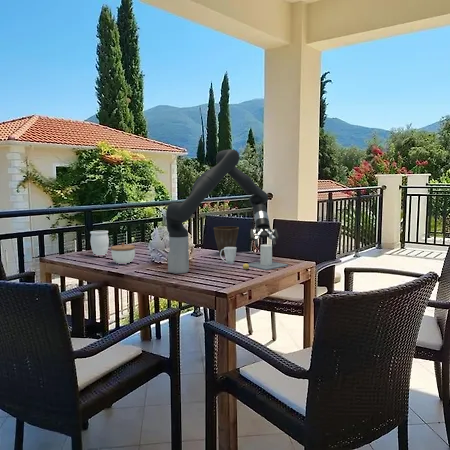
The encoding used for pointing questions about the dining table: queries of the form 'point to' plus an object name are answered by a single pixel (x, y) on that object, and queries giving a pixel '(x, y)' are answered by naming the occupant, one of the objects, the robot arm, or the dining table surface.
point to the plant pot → (225, 237)
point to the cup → (229, 254)
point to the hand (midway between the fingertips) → (265, 245)
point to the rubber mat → (273, 266)
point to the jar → (99, 242)
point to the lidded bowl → (123, 253)
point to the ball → (245, 266)
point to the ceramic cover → (266, 254)
